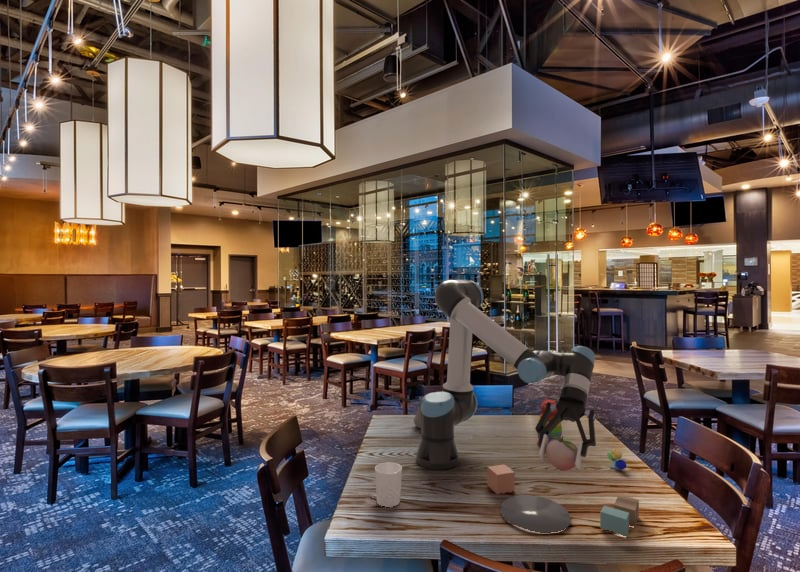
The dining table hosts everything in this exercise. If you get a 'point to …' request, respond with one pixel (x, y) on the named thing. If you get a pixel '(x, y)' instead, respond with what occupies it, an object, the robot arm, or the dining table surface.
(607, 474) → the dining table surface
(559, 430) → the stacking bear
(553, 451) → the decorative fruit
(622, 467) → the dice
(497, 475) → the terracotta block
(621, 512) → the teal block
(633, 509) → the walnut block
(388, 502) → the white cup
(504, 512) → the slate plate
